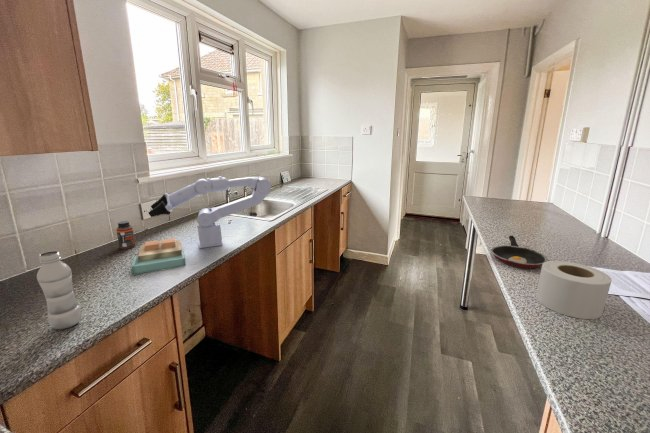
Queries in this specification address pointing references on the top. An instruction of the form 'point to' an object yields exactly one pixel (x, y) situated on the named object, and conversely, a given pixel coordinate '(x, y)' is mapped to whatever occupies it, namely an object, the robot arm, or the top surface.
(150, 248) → the tile
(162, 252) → the board
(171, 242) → the tile
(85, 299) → the top surface
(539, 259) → the frying pan
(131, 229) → the supplement bottle
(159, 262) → the tray
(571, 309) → the roll of tape
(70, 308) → the plastic bottle
